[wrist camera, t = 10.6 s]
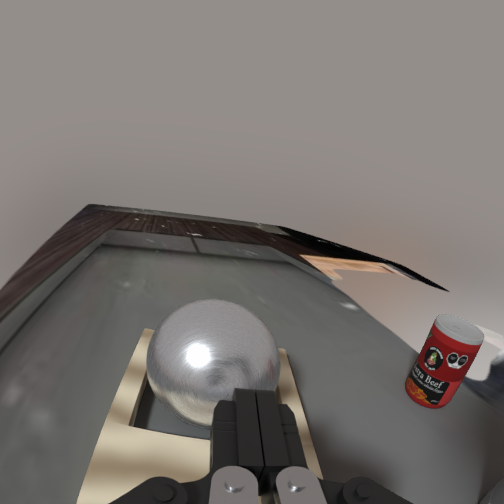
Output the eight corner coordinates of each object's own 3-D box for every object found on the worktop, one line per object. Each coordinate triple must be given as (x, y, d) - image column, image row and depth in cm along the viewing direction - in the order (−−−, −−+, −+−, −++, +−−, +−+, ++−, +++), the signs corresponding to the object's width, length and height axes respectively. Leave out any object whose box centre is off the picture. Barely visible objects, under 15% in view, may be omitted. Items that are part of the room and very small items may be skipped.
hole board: (329, 544, 13) (340, 536, 13) (80, 523, 11) (73, 514, 11) (281, 361, 38) (284, 349, 38) (144, 341, 36) (144, 328, 35)
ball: (326, 394, 21) (285, 353, 33) (230, 273, 20) (220, 269, 32) (207, 476, 19) (204, 413, 31) (101, 373, 18) (134, 336, 30)
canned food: (393, 383, 36) (425, 314, 33) (426, 374, 39) (455, 312, 36) (426, 416, 29) (467, 344, 26) (457, 401, 32) (492, 336, 29)
